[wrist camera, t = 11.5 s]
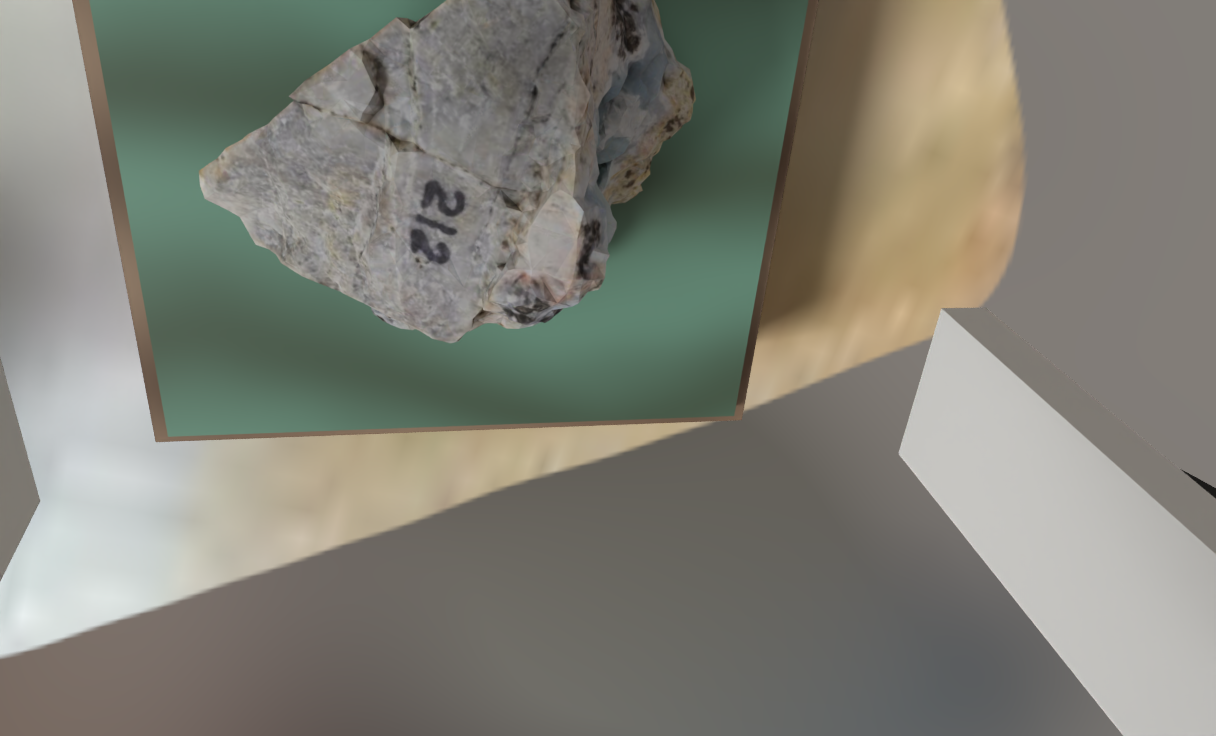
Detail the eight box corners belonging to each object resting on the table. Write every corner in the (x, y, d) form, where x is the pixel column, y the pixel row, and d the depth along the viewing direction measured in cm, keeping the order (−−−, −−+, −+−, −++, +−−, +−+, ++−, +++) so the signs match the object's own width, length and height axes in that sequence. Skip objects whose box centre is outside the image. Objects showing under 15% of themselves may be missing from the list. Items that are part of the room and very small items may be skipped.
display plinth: (78, -295, 22) (2, -323, 18) (790, -214, 26) (868, -221, 21) (185, 365, 31) (151, 451, 27) (703, 354, 35) (746, 428, 30)
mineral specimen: (519, 155, 29) (392, -181, 22) (759, 191, 26) (705, -197, 18) (341, 388, 25) (100, 63, 17) (602, 472, 21) (443, 107, 14)
